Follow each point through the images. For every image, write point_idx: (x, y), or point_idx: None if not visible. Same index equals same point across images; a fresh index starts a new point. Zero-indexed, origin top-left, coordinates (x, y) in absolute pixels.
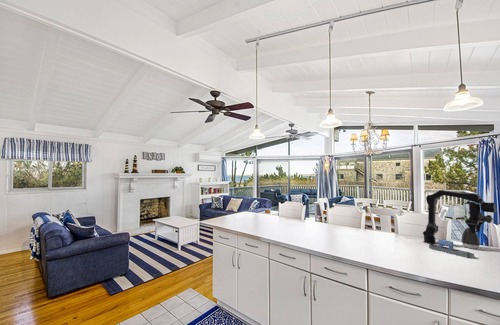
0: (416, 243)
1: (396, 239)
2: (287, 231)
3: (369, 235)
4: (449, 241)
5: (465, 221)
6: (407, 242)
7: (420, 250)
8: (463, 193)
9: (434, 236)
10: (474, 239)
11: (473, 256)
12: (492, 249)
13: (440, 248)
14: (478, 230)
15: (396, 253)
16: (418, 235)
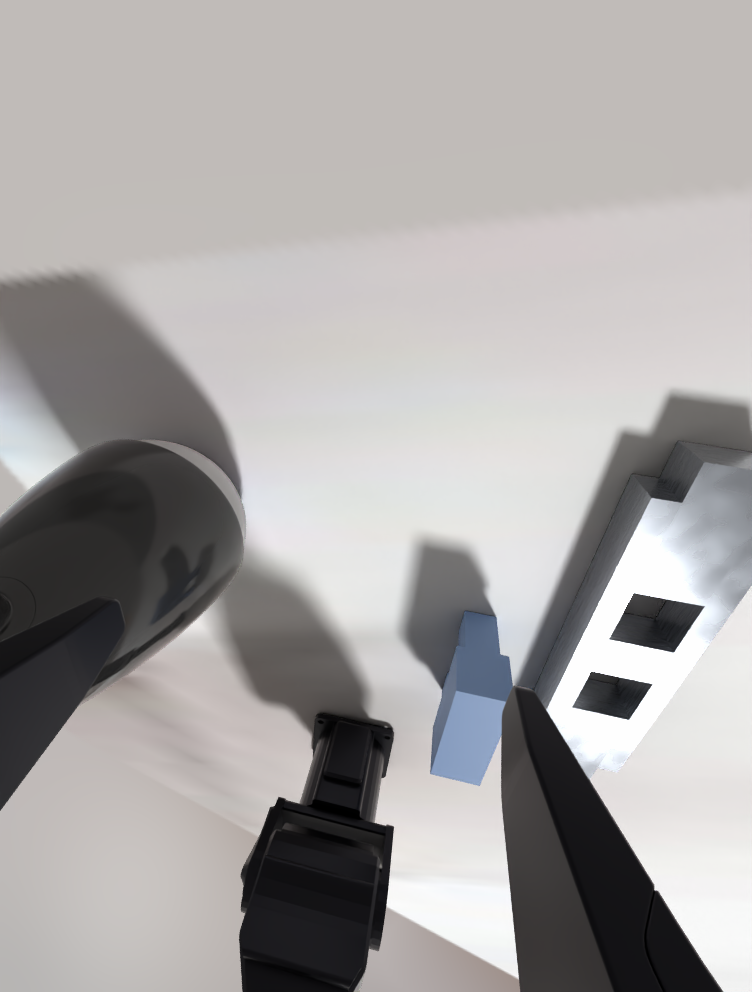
0: (477, 801)
1: (467, 875)
2: None
3: (498, 957)
4: (478, 717)
5: None
6: (501, 838)
7: (733, 792)
8: None
9: (319, 789)
10: (160, 530)
11: (718, 453)
12: (17, 311)
13: (649, 718)
14: (92, 637)
15: None
16: (183, 783)
